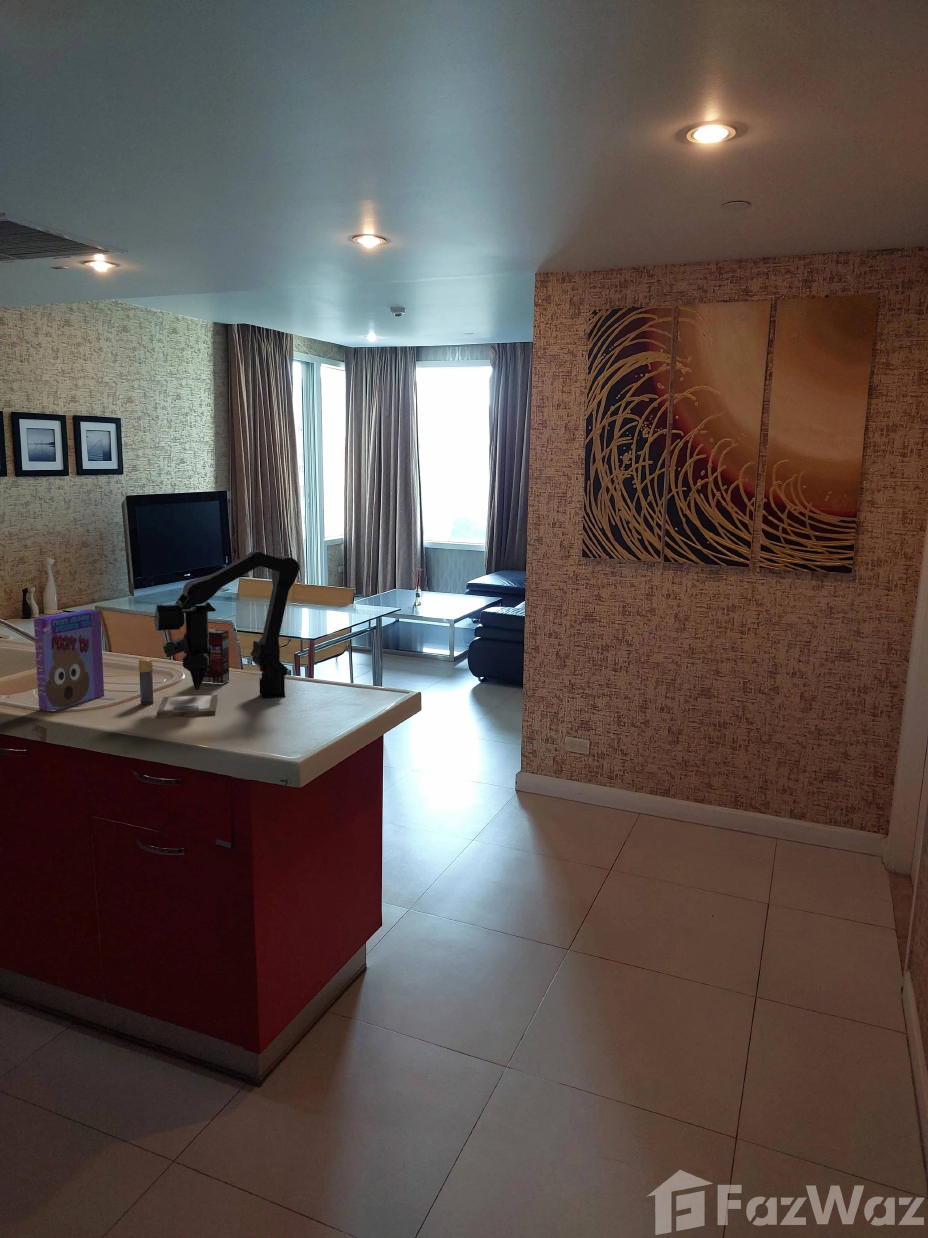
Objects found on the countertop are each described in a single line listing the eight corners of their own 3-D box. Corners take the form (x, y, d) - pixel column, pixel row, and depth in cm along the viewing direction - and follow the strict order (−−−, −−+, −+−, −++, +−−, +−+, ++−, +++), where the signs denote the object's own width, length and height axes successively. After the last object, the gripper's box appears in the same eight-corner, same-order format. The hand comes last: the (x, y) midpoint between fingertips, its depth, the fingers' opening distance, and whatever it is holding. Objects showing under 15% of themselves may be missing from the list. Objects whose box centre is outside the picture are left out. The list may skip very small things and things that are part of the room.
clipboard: (217, 698, 221) (217, 691, 221) (215, 715, 206) (214, 706, 206) (163, 701, 218) (163, 693, 217) (157, 717, 202) (156, 709, 202)
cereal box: (53, 712, 205) (48, 619, 201) (39, 710, 206) (33, 617, 202) (104, 696, 221) (100, 610, 217) (90, 694, 223) (86, 608, 219)
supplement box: (195, 683, 237) (194, 630, 235) (203, 680, 242) (202, 628, 239) (223, 685, 236) (221, 632, 233) (230, 681, 240) (229, 629, 238)
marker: (154, 701, 217) (153, 658, 215) (152, 705, 214) (151, 661, 212) (141, 702, 216) (139, 658, 214) (139, 705, 213) (137, 661, 211)
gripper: (168, 623, 220) (169, 678, 222) (160, 635, 202) (162, 695, 204) (210, 622, 223) (211, 677, 225) (207, 634, 205) (208, 694, 207)
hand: (198, 685), depth 215 cm, fingers open, 8 cm apart
